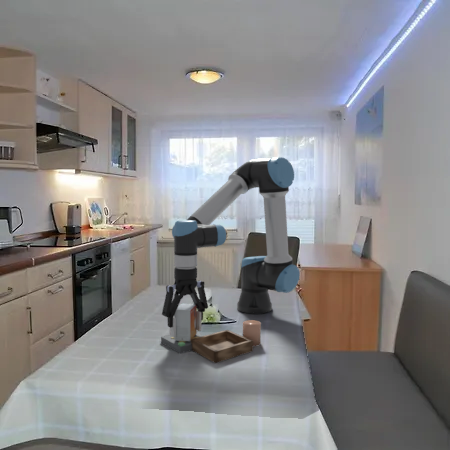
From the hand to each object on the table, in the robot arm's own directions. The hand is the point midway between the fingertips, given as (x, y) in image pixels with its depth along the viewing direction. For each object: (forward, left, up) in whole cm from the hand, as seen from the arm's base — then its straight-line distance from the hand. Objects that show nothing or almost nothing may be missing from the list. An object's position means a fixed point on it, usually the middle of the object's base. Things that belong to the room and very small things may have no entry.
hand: (185, 333), depth 137 cm
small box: (0, 0, -2) cm, 2 cm away
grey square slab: (0, 0, -4) cm, 4 cm away
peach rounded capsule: (-18, +13, -4) cm, 23 cm away
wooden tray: (-6, +12, -4) cm, 14 cm away
